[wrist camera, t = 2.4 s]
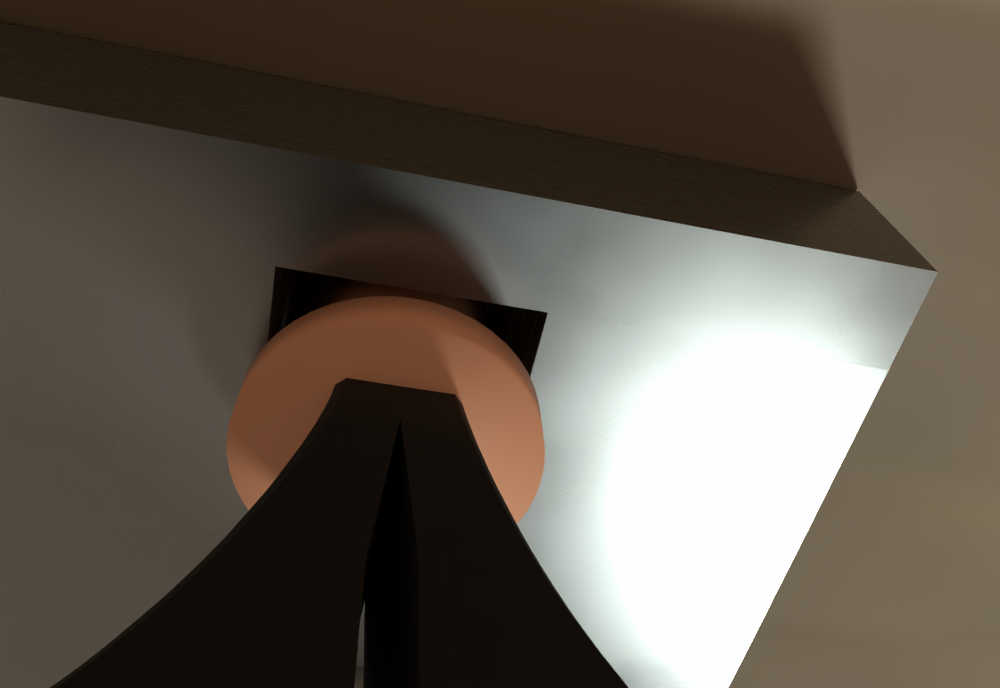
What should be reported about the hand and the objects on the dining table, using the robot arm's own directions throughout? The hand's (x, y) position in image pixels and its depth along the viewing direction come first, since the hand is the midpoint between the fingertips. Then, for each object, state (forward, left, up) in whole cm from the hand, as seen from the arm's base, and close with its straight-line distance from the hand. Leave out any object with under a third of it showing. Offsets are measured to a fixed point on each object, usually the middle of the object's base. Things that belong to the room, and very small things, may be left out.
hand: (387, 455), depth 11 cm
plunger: (0, 0, -3) cm, 3 cm away
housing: (-5, 0, -4) cm, 6 cm away
